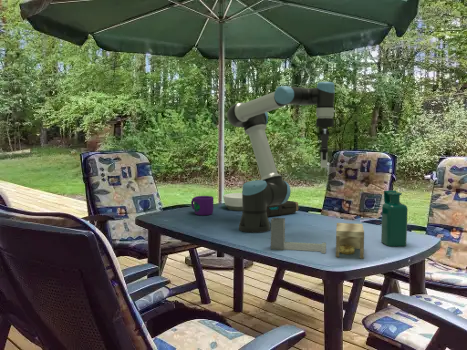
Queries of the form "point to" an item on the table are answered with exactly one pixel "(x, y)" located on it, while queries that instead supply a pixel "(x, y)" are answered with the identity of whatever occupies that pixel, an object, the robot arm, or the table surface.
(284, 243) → the bracket
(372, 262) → the table surface
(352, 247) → the yellow lumpy disc
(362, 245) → the shelf
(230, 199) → the bowl
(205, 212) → the mug
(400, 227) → the green bottle
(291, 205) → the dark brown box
